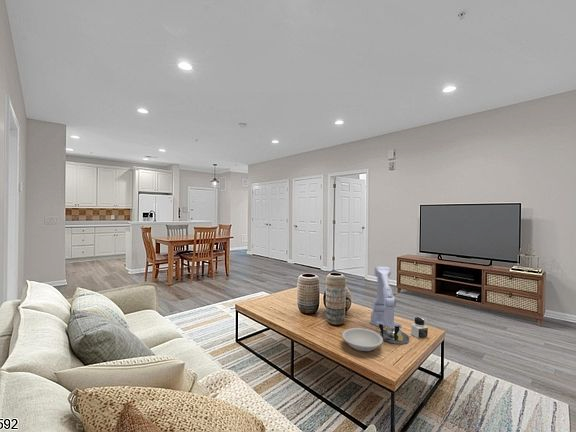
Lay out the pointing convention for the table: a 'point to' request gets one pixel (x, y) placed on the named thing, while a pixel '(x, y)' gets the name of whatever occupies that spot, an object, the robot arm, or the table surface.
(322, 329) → the table surface
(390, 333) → the ring nut
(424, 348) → the table surface
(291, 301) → the table surface
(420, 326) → the medicine bottle
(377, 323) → the robot arm
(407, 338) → the flange plate
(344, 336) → the soup bowl
